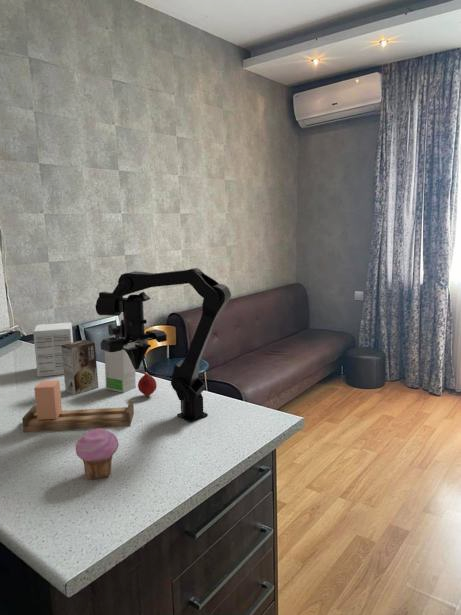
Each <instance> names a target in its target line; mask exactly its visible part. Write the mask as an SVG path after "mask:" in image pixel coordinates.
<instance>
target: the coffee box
mask: <svg viewBox="0 0 461 615" xmlns="http://www.w3.org/2000/svg"><path fill="white" fill-rule="evenodd" d="M61 346H62V357H63V368H64V374H63V375H64V376H63V378H64V388H65V392H66V393H69V394H73V395H75V396H76V395H79V394H82V393H85V392H88V391H90V390H94V389H97V388H99V378H98V377H99V376H98V366H97V365H98V364H97V355H96V344H95V341H91V340H88V339H82V340H77V341H73V343H68V344H64V345H61Z"/></svg>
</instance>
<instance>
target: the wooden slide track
mask: <svg viewBox="0 0 461 615" xmlns="http://www.w3.org/2000/svg"><path fill="white" fill-rule="evenodd" d="M134 407H135V406H134V400H129V402H128V405H127V406H126V407H125V406H124V407H107V408H106V407H104V408H89V409H86V408H85V409H70V410H67V409H66V410H62V411H61V413H60V414H59V417H57V418H56V419H42V420H37V412H36V405H33V406H32V407H31V408H30V409H29V410H28V412H27V413H25V415H24V416H23V417H22V418H21V419H22V420H21V421H22V426H23V427H22V428H23V433H34V432H35V433H36V432H51V431H52V432H53V431H68V430H83V429H104V428H105V429H106V428H118V427H119V428H123V427H124V428H125V427H131V424H132V421H133V418H134V414H135V410H134V409H135V408H134Z"/></svg>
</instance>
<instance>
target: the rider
mask: <svg viewBox="0 0 461 615" xmlns="http://www.w3.org/2000/svg"><path fill="white" fill-rule="evenodd" d="M60 383H61V382H60V380H59V379H57V380H41V381H39V382H38V383H37V385H35V387H33V389H34V390H33V391H34V400H35V406H36V412H37V420H42V419H56V418H57V417H59V414H60V413H61V411H63V407H62V395H61V394H62V393H61V384H60Z"/></svg>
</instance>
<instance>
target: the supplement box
mask: <svg viewBox="0 0 461 615" xmlns="http://www.w3.org/2000/svg"><path fill="white" fill-rule="evenodd" d="M72 324H73V323H72V322H60V323H59V322H58V323H44V324H36V326H35V328H34V330H33V332H32V333H33V342H34V354H35V361H36V362H35V363H36V364H35V366H36V375H37V377H38V378H39V377H50V376H60V375H64V368H63V357H62V346H61V345H64V344H68V343H73V342H74V338H73V337H74V336H73V326H72Z"/></svg>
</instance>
